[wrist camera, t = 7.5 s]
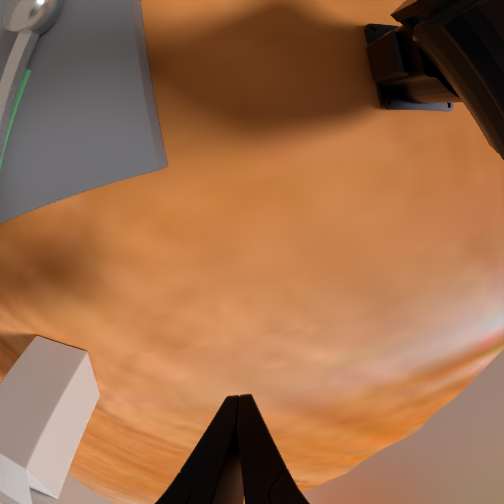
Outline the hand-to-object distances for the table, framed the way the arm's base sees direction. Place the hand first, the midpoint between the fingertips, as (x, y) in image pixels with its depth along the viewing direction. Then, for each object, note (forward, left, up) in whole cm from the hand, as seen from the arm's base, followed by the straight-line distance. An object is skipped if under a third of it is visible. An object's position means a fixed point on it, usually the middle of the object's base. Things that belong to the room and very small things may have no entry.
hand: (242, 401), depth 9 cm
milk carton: (+22, +10, -13) cm, 28 cm away
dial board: (+14, -18, -13) cm, 26 cm away
